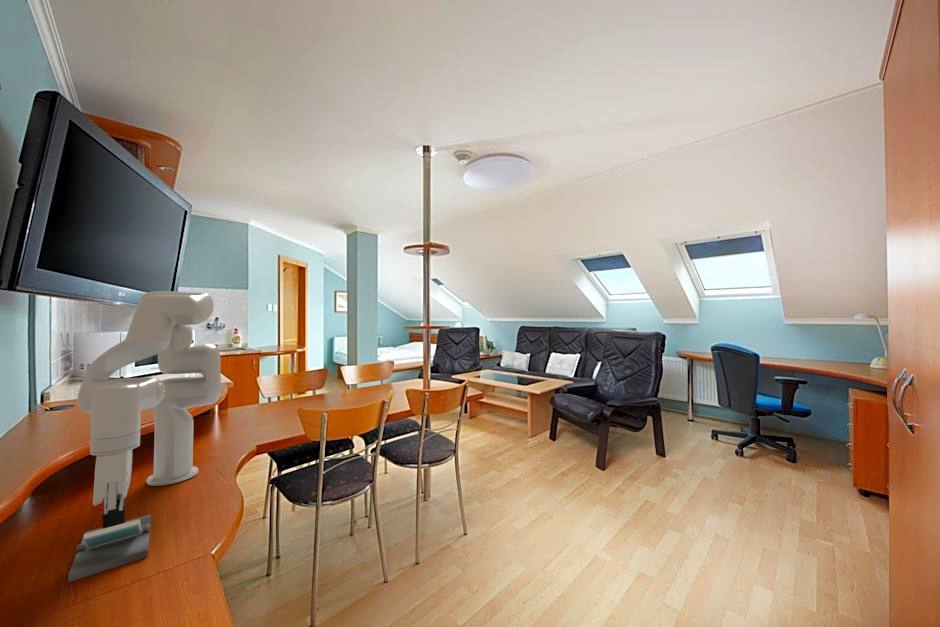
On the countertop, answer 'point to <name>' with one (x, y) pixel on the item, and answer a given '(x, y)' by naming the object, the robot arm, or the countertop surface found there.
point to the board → (111, 552)
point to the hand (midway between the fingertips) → (113, 528)
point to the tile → (112, 533)
